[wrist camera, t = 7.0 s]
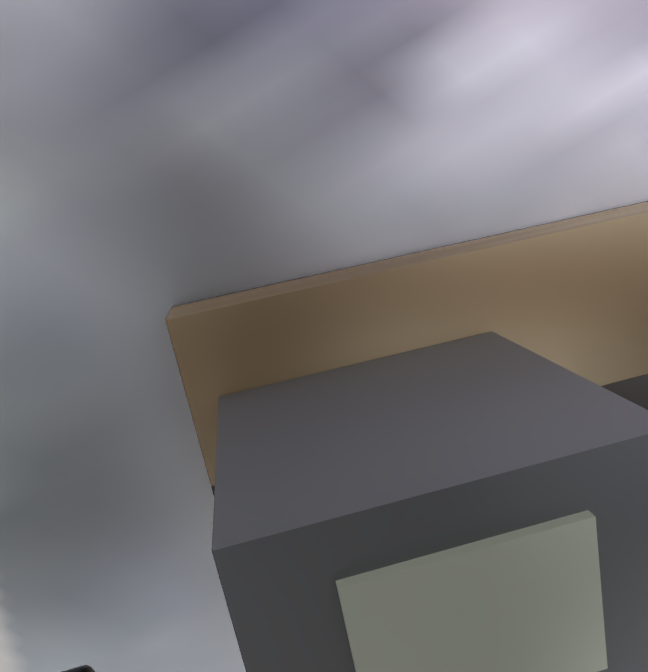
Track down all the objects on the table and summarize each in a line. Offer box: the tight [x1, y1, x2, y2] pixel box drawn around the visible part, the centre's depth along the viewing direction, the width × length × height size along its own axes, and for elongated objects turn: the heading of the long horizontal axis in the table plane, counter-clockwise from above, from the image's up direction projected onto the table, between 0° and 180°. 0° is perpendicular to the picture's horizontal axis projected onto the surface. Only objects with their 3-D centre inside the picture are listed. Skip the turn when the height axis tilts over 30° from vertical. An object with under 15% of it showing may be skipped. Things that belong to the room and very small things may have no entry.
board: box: [166, 201, 648, 494], centre depth 13 cm, size 18×14×1 cm
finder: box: [212, 331, 648, 672], centre depth 9 cm, size 5×5×5 cm
